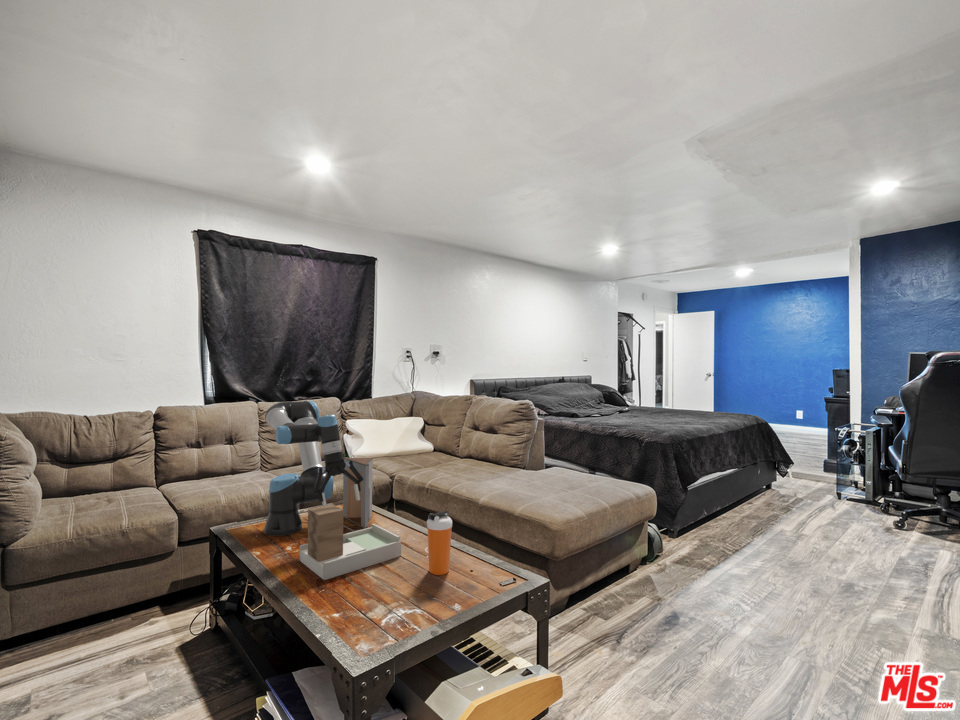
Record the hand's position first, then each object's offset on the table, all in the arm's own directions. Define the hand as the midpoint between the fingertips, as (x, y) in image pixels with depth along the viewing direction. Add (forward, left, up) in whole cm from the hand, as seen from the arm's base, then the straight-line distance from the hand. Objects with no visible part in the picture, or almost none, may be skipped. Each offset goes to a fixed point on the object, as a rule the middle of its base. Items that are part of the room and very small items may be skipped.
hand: (342, 504), depth 189 cm
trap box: (+17, -5, -15) cm, 23 cm away
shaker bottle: (+47, +13, -15) cm, 51 cm away
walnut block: (+17, -15, -11) cm, 25 cm away
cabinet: (-18, +19, -15) cm, 31 cm away
